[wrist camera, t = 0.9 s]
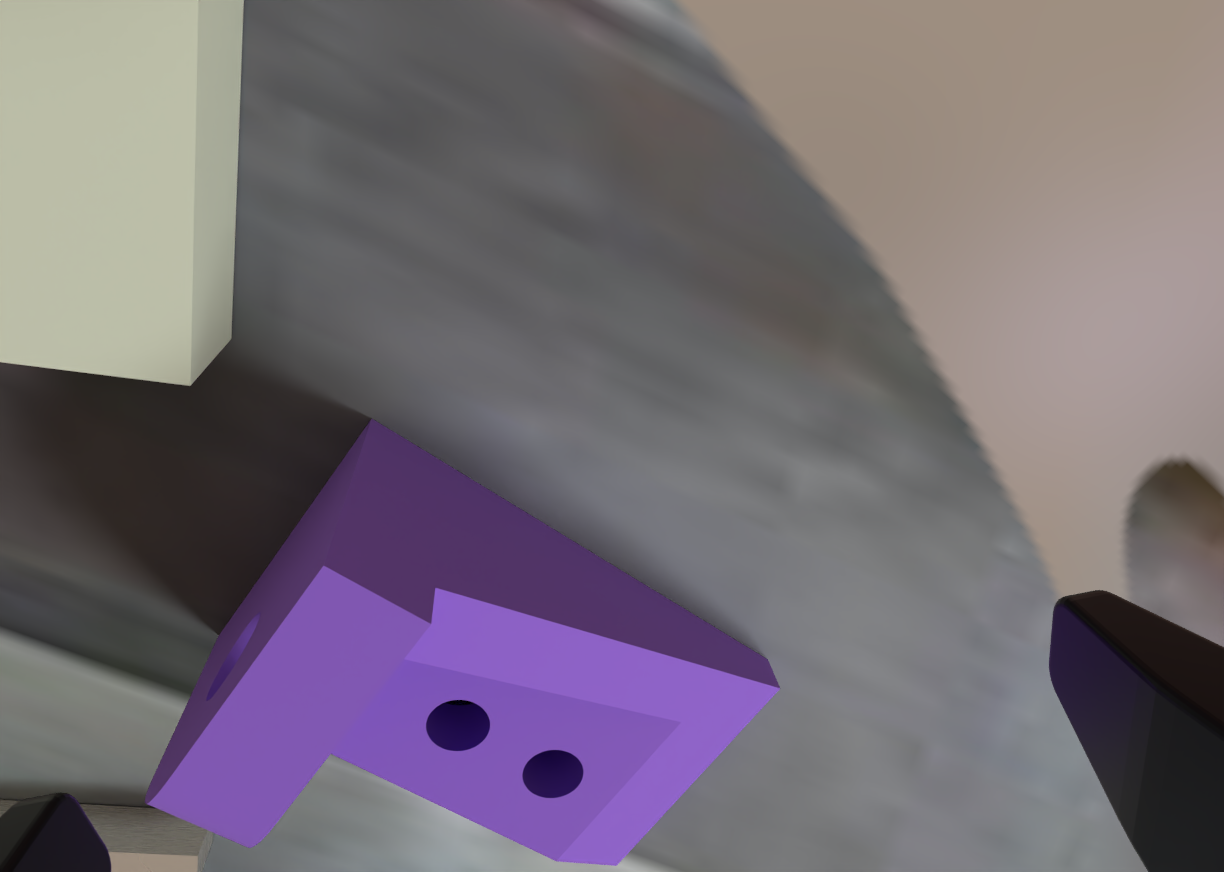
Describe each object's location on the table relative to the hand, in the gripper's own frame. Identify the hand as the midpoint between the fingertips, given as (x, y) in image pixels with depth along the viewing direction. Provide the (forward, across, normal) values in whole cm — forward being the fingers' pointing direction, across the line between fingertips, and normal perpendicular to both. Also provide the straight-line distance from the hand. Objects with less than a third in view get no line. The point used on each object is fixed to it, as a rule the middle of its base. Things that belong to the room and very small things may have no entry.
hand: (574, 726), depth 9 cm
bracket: (+13, +3, +10) cm, 16 cm away
